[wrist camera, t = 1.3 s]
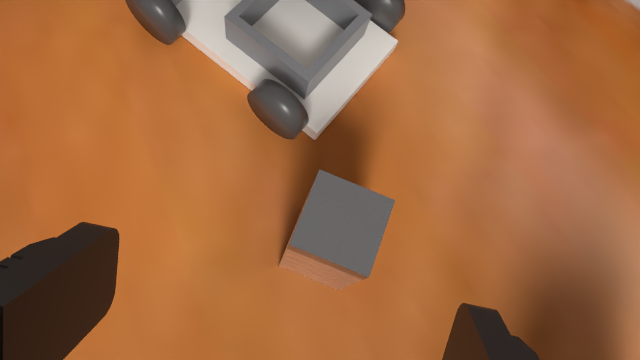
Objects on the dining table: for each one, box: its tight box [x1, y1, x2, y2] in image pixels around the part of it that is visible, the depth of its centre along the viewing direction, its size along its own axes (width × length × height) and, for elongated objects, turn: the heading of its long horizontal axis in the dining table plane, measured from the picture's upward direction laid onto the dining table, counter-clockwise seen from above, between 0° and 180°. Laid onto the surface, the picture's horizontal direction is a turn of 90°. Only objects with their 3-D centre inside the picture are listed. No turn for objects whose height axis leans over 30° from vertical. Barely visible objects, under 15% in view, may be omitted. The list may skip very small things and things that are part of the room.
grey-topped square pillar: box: [279, 170, 395, 290], centre depth 33 cm, size 5×5×10 cm
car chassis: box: [125, 0, 405, 140], centre depth 41 cm, size 20×15×5 cm
